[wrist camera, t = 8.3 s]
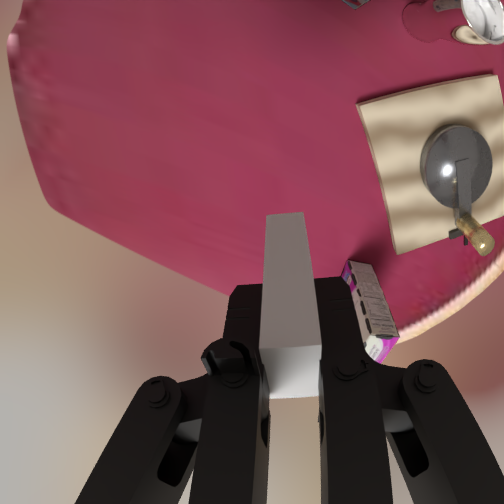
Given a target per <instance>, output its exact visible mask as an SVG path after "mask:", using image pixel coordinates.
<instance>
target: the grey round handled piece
mask: <svg viewBox="0 0 504 504" xmlns="http://www.w3.org/2000/svg"><path fill="white" fill-rule="evenodd" d="M492 167H493V160H492V154H491V150H490V147H489V145H488V143H487V141H486V140H485V139H484V137H483V136H482V135H481V134H479V133H478V132H477V131H475V130H473V129H471V128H469V127H466V126H464V125H461V124H448V125H444V126H442V127H440V128H439V129H437V130H436V131H435V132H434V133H433V134H432V135H431V136H430V137H429V139H428V140H427V142H426V144H425V146H424V148H423V151H422V154H421V159H420V173H421V178H422V181H423V184H424V186H425V187H426V189H427V190H428V192H429V193H430V194H431V195H432V196H433V197H434V198H435V199H436V200H437V201H438V202H439V203H441V204H442V205H444V206H446V207H449V208H454V213H455V225H456V227H457V228H458V229H459V230H460V231H461V232H462V233H463V234H464V245H468V240H469V241H470V243H471V244H472V245H473V246H474V248H475V249H476V250H477V251H478V253H479V254H480V255H482V256H485V255H487V254H489V253H490V252H491V251H492V249H493V247H494V244H495V241H494V239H493V238H492V237H491V235H490V234H489V233H488V232H487V231H486V230H485V229H484V228H483V227H482V226H481V225H480V224H479V223H478V221H477V220H476V219H475V218H474V217H473V216H472V205H471V204H472V203H474V202H475V201H476V200H477V199H478V198H479V197H480V196H481V195H482V194H483V193H484V191H485V190H486V188H487V186H488V184H489V181H490V178H491V174H492Z"/></svg>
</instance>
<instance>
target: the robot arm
mask: <svg viewBox="0 0 504 504" xmlns="http://www.w3.org/2000/svg"><path fill="white" fill-rule="evenodd" d="M201 360H202V362H203V364H204V366H205V368H206V370H207V372H208V373H207V374H205V375H203V376H201V377H198V378H195V379H191V380H187V381H184V382H179V383H177V382H176V381H175V380H173V379H172V378H169V377H166V376H157V377H153V378H151V379H149V380H147V381H146V382H144V383H143V384H142V386H141V387H140V388H139V389H138V391H137V392H136V394H135V396H134V398H133V399H132V401H131V403H130V405H129V406H128V408H127V410H126V411H125V413H124V415H123V417H122V419H121V420H120V422H119V424H118V426H117V427H116V429H115V431H114V433H113V435H112V436H111V438H110V440H109V442H108V443H107V445H106V447H105V449H104V451H103V452H102V454H101V456H100V458H99V460H98V461H97V463H96V465H95V467H94V469H93V470H92V473H91V474H90V476H89V478H88V480H87V482H86V484H85V485H84V487H83V489H82V491H81V493H80V495H79V497H78V499H77V500H76V502H75V504H178V502H179V500H180V498H181V496H182V493H183V491H184V489H185V487H186V485H187V482H188V480H189V478H190V476H191V473H192V471H193V469H194V471H193V478H192V484H191V491H190V497H189V504H266V503H267V484H268V483H267V482H268V465H269V463H268V462H269V442H270V417H271V415H270V410H269V395H270V398H272V399H275V398H295V397H310V396H319V416H318V422H319V428H320V456H321V504H393V496H392V486H391V476H390V466H389V457H388V449H387V442H386V437H387V439H388V442H389V444H390V446H391V449H392V451H393V453H394V456H395V458H396V460H397V463H398V465H399V468H400V470H401V473H402V475H403V477H404V480H405V482H406V485H407V487H408V490H409V492H410V495H411V497H412V500H413V502H414V504H504V476H503V474H502V471H501V469H500V467H499V465H498V463H497V461H496V459H495V456H494V454H493V453H492V450H491V448H490V446H489V445H488V443H487V440H486V439H485V437H484V435H483V433H482V431H481V429H480V427H479V425H478V423H477V422H476V420H475V418H474V416H473V414H472V413H471V411H470V409H469V407H468V405H467V404H466V402H465V400H464V399H463V397H462V395H461V393H460V392H459V390H458V388H457V387H456V385H455V384H454V382H453V380H452V379H451V377H450V375H449V374H448V372H447V370H445V368H444V367H443V366H442V365H441V364H439V363H437V362H435V361H433V360H427V359H423V360H418V361H415V362H414V363H412V364H411V365H409V366H408V368H399V367H392V366H387V365H383V364H380V363H378V362H376V361H375V360H373V359H372V358H371V357H370V356H369V355H368V353H367V352H366V350H365V347H364V344H363V339H362V335H361V330H360V326H359V322H358V318H357V313H356V310H355V305H354V301H353V297H352V293H351V289H350V286H349V285H348V284H347V283H346V281H345V280H344V279H343V278H342V277H341V276H339V277H328V278H316V279H314V278H313V271H312V264H311V258H310V251H309V244H308V238H307V232H306V226H305V220H304V214H303V212H296V213H285V214H274V215H267V217H266V236H265V255H264V273H263V284H249V285H237V287H236V288H235V289H234V291H233V292H232V294H231V295H230V297H229V303H228V310H227V315H226V321H225V327H224V333H223V338H220V339H219V340H216V341H215V342H212V343H211V344H210V345H209V346H208V347H207V348H206V349H205V350H204V352H203V354H202V356H201Z"/></svg>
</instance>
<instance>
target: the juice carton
mask: <svg viewBox="0 0 504 504" xmlns="http://www.w3.org/2000/svg"><path fill="white" fill-rule="evenodd" d="M342 1H343V2H345V3H346V4H348V5H349V6H350V7H352V8H353V9H355V10H356V9H357V8H359V7H360V6H362V5H363V4H365V3H367V2H368V1H370V0H342Z"/></svg>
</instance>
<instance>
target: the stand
mask: <svg viewBox="0 0 504 504" xmlns="http://www.w3.org/2000/svg"><path fill="white" fill-rule="evenodd" d="M356 107H357V110H358V113H359V116H360V119H361V122H362V125H363V128H364V131H365V134H366V137H367V141H368V144H369V147H370V150H371V154H372V157H373V161H374V165H375V168H376V172H377V176H378V179H379V183H380V187H381V191H382V196H383V200H384V204H385V208H386V213H387V218H388V222H389V227H390V232H391V237H392V243H393V248H394V250H395V252H396V254H397V255H399V254H402V253H405V252H408V251H411V250H414V249H416V248H419V247H422V246H425V245H428V244H430V243H433V242H436V241H439V240H441V239H444V238H447V237H449V238H450V239H454V238H456V237H459V236H461V235H464V234H463V233H462V232H461V231H460V230H459V229H458V228H457V227H456V225H455V213H454V208H449V207H446V206H444V205H442V204H441V203H439V202H438V201H437V200H436V199H435V198H434V197H433V196H432V195H431V194H430V193H429V192H428V190H427V189H426V187H425V186H424V184H423V181H422V178H421V173H420V159H421V154H422V151H423V148H424V146H425V144H426V142H427V140H428V139H429V137H430V136H431V135H432V134H433V133H434V132H435V131H436V130H437V129H439V128H440V127H442V126H444V125H448V124H461V125H464V126H466V127H469V128H471V129H473V130H475V131H477V132H478V133H479V134H481V135H482V136H483V137H484V139H485V140H486V141H487V143H488V145H489V147H490V150H491V154H492V160H493V167H492V174H491V178H490V181H489V184H488V186H487V188H486V190H485V191H484V193H483V194H482V195H481V196H480V197H479V198H478V199H477V200H476V201H475V202H474V203H472V204H471V205H472V216H473V217H474V218H475V219H476V220H477V221H478V223H479V224H480V225H481V224H484V223H486V222H489V221H491V220H494V219H496V218H499V217H501V216H504V107H503V101H502V95H501V90H500V85H499V80H498V76H497V75H493V74H486V75H479V76H473V77H467V78H461V79H456V80H450V81H445V82H440V83H436V84H431V85H426V86H422V87H418V88H413V89H409V90H405V91H401V92H397V93H393V94H389V95H386V96H382V97H378V98H375V99H371V100H368V101H364V102H361V103H358V104H356Z"/></svg>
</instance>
